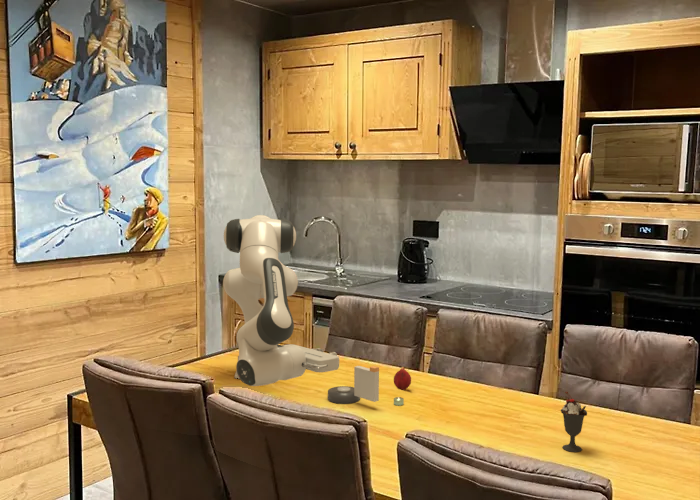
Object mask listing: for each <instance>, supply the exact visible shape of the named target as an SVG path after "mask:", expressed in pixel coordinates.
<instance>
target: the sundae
mask: <svg viewBox="0 0 700 500" xmlns="http://www.w3.org/2000/svg"><path fill="white" fill-rule="evenodd" d="M565 394H566V395H567V396H568V398H567V399H566V400H565V401H566V402H565V404H564V405H563V407H562V408H561V409H560V412H561V414H562V417H563V424H564V425H563V426H564V431H565V432H566V433H567V434H568V436H569V437H570V439H569V443H568V444H563V446H562V449H563V450H564V451H566V452H570V453H580V452H582V451H583V448H582V447H581V446H579V445H577V444H576V437H577V436H578V435H580V434H581V432H582V429H583V423H584V418H585V416H588V411H587V410H586V407H587V406H586V405H585V406H583V407H582V404H580V402H579V401H577V400H575V399H574V398H572V396H571V394H569V391H565Z"/></svg>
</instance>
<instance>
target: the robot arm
mask: <svg viewBox="0 0 700 500" xmlns="http://www.w3.org/2000/svg"><path fill="white" fill-rule="evenodd" d="M296 240H297V231H296V228H295V226H294V224H293V223H292V221H291V220H288V219H283V218H281V219H276V218H271V217H269V216H267V215H264V214H257V215H254V216H252V217H251V218H242V219H240V218H235V219H231V220H229V222H227V223H226V226H225V228H224V230H223V241H224V244H225V246H226V248H227V250H228V251H230V252H232V253H236V254H239V267H236V268H235V267H234V268H232V269H229V270H227V272H226V273H225V275H224V277H223V280H222V286H223V289H224V292H225V294H227V295H226V296H229V297H230V299H232V300H234V301H235V303H236V304H238V307H239V308H240V310H241V311H242V312H241V313H242V314H243V319H244V324H242V326H241V327H239V328H238V330H237V331H236V336H235V337H236V338H235V341H236V344H237V348H238V356H237V361H236V365H235V366H236V371H235V373H234V379H237V378H238V379H239V380H240V381H241V382H242V383H244V384H245V385H247V386H250V387H259V386H260V387H261V386H262V387H263V386H268V385H271V384H275V383H277V382H279V381H287V380H292V379H297V378H299V377H301V376H303V375H304V374H305V371H306V370H307V371H311V372H314V373H327V372H333V371H337V370H339V368H340V357H339V356H338V353H337V352H335V351H329V352H324V349H323V348H308V347H304V346H301V345H298V344H290V343H289V344H282V343H283V342H285V341H287V340H289V339H290V337H291V336H292V335H293V333H294V327H295V325H294V319H293V315H292V312H291V310H290V306H289V300H288V297H290V296H293V295H294V294H295V293H296V291H297V289H298V284H299V283H298V282H299V279H298V276H297V274H296V272H295V271H294V270H293V268H290V267H288V266H286V265H285V264H283V263H282V262H281V261H280V259H279V253H280V254H285V253H289V252H291V251H292V250H293V248H294V246H295V244H296V242H297V241H296ZM261 299H263V301H264V302H263V305H262V304H261V303H260V302H259V300H261ZM238 379H237V380H238Z"/></svg>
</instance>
